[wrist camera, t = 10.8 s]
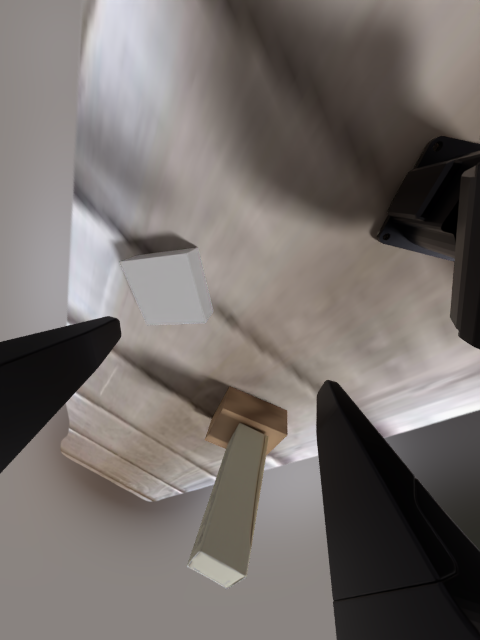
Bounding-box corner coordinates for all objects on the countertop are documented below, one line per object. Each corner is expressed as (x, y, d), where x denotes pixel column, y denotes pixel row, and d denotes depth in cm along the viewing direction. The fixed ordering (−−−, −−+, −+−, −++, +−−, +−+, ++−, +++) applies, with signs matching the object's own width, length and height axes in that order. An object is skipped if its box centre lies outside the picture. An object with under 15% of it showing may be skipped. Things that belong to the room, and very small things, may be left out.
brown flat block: (287, 407, 29) (287, 434, 26) (261, 436, 34) (259, 462, 31) (230, 384, 29) (223, 408, 26) (212, 416, 34) (204, 440, 30)
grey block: (199, 246, 20) (186, 253, 17) (214, 309, 23) (205, 323, 21) (138, 254, 22) (119, 261, 19) (160, 312, 25) (146, 325, 22)
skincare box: (254, 457, 29) (227, 590, 19) (226, 443, 30) (185, 567, 19) (270, 434, 26) (249, 581, 16) (238, 420, 26) (197, 554, 16)
